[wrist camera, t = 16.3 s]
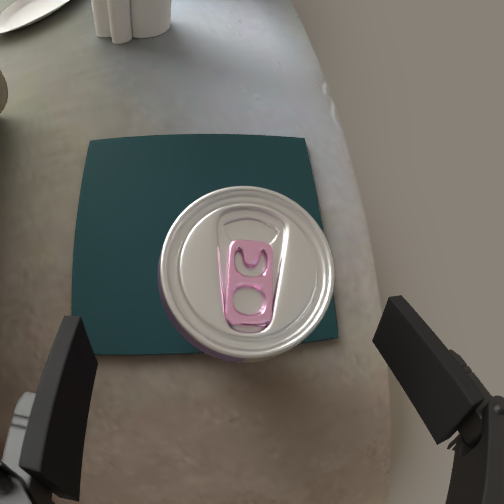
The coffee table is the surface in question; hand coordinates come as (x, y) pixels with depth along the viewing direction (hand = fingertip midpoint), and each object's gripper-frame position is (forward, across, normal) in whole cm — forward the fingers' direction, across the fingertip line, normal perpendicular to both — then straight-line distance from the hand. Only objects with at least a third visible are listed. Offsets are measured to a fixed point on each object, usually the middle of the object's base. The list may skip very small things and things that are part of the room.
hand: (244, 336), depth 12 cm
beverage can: (+10, 0, -7) cm, 12 cm away
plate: (+50, -36, +32) cm, 69 cm away
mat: (+15, -1, -2) cm, 15 cm away
